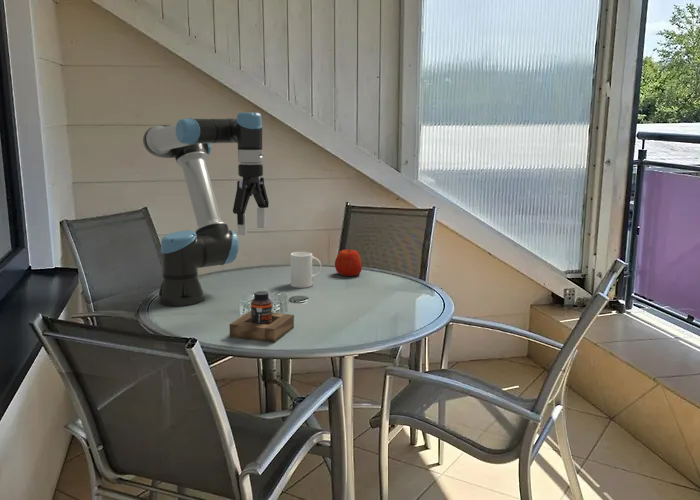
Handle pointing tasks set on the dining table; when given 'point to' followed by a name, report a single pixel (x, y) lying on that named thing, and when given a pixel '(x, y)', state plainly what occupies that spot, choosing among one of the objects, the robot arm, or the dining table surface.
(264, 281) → the dining table surface
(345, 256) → the apple
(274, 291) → the dining table surface
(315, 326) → the dining table surface
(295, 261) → the mug
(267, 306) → the supplement bottle
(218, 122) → the robot arm
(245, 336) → the holder block
